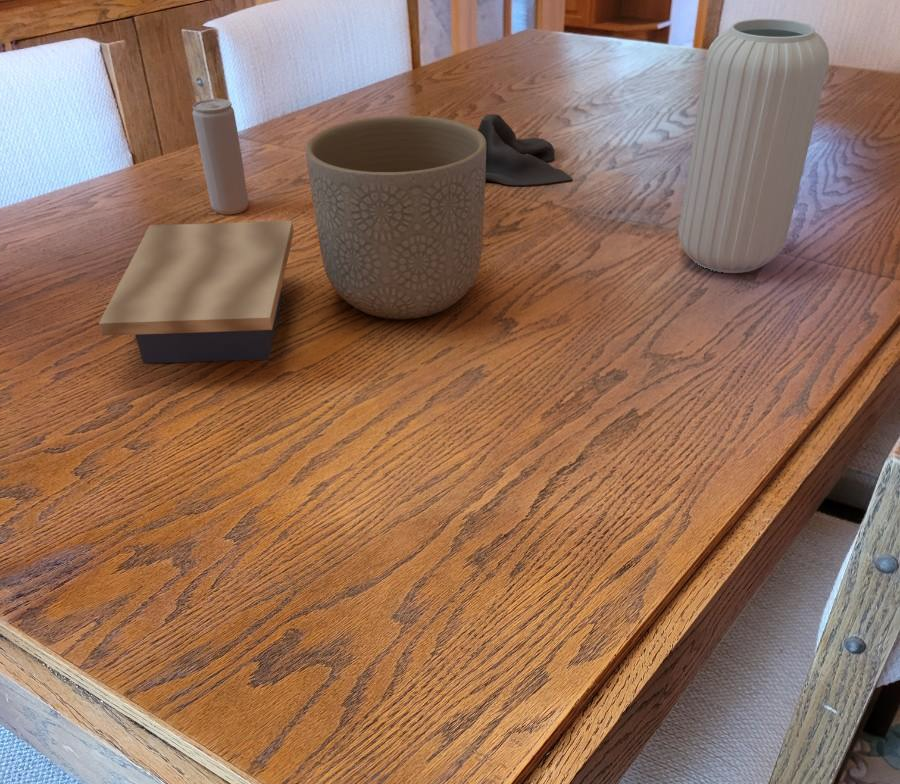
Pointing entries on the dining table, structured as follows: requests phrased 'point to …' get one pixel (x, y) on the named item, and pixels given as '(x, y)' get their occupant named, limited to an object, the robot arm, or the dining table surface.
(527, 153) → the cloth
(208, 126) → the beverage can
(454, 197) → the planter
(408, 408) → the dining table surface
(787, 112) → the vase
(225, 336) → the crate
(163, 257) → the board
